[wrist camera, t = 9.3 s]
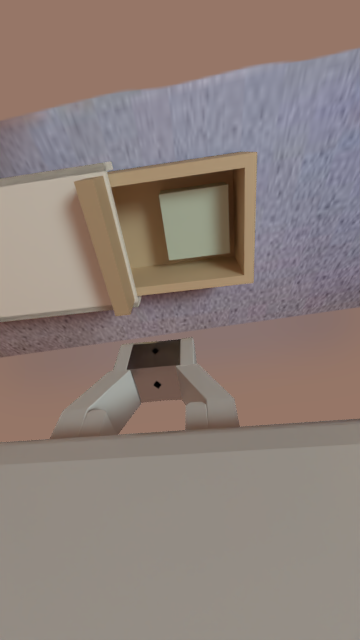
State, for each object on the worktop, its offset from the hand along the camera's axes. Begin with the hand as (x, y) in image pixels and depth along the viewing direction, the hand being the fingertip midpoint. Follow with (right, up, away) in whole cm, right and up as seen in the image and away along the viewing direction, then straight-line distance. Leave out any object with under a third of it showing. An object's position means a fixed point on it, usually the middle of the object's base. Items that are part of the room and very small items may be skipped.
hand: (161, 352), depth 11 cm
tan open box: (-1, +13, +20) cm, 24 cm away
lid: (-14, +9, +17) cm, 24 cm away
